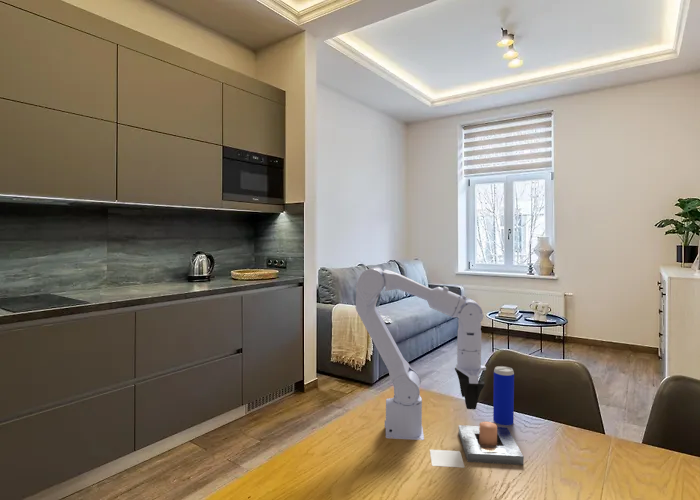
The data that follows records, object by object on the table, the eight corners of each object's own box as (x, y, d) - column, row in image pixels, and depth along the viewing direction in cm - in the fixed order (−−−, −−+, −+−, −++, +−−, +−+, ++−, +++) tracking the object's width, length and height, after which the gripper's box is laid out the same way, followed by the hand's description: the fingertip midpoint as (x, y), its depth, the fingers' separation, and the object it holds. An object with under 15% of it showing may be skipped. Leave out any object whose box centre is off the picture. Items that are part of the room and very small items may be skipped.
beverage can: (510, 419, 117) (511, 366, 116) (515, 428, 111) (516, 372, 111) (491, 418, 117) (491, 365, 117) (495, 427, 112) (496, 371, 111)
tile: (432, 468, 92) (432, 465, 92) (429, 451, 99) (429, 449, 99) (464, 470, 92) (464, 467, 92) (460, 453, 99) (460, 451, 98)
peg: (481, 454, 98) (482, 428, 98) (477, 445, 102) (477, 421, 102) (499, 454, 98) (499, 429, 98) (493, 445, 102) (494, 421, 102)
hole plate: (467, 464, 94) (467, 452, 94) (458, 434, 108) (458, 424, 108) (523, 467, 93) (523, 455, 92) (507, 437, 106) (507, 427, 106)
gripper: (492, 357, 97) (491, 415, 97) (480, 341, 111) (479, 392, 112) (460, 356, 98) (460, 413, 98) (453, 340, 112) (452, 391, 113)
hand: (468, 402), depth 105 cm, fingers open, 7 cm apart
